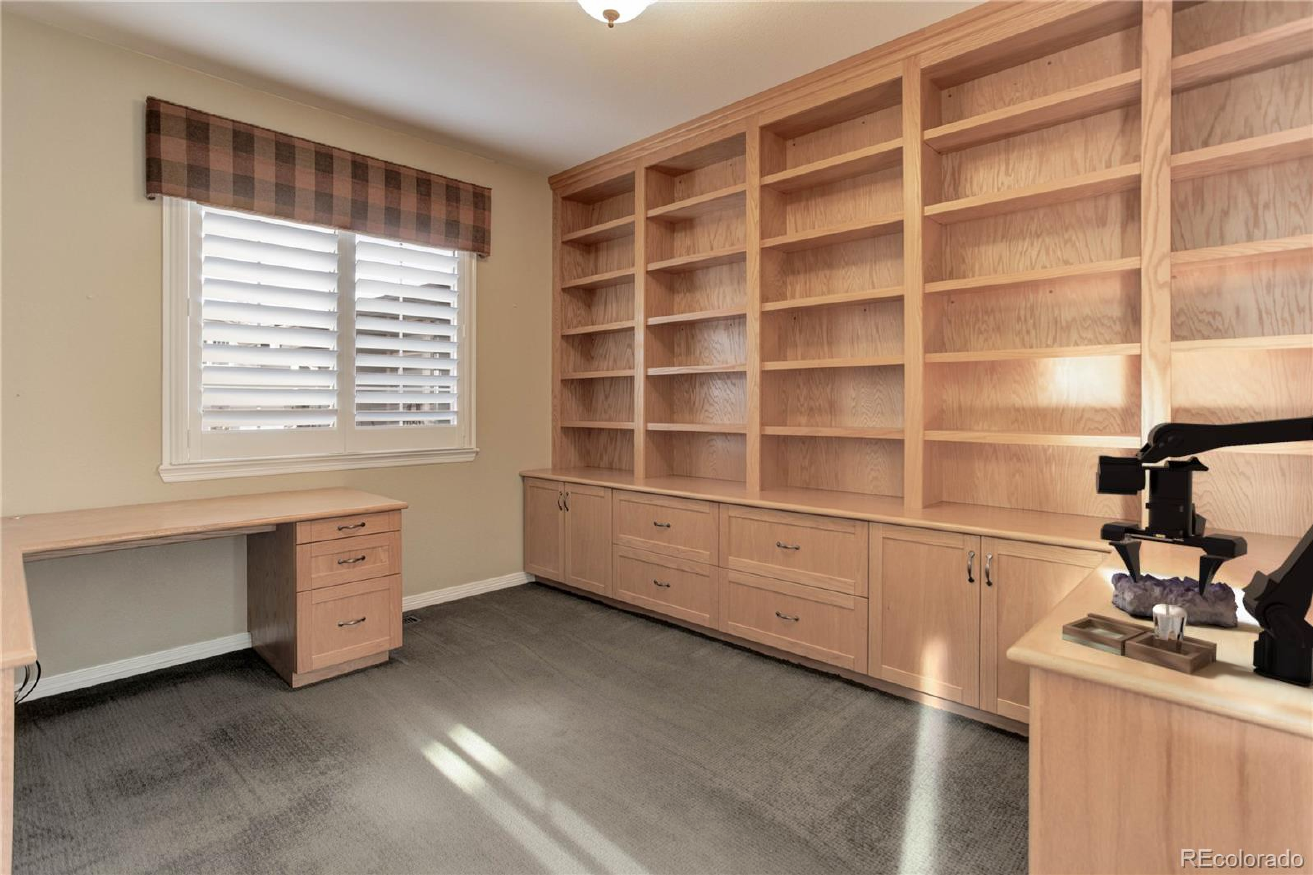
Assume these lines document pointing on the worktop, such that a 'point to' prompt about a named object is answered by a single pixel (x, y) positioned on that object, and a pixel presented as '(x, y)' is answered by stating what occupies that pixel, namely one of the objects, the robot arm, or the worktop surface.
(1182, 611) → the milkshake
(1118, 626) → the divided wooden tray
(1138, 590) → the geode
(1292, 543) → the worktop surface
